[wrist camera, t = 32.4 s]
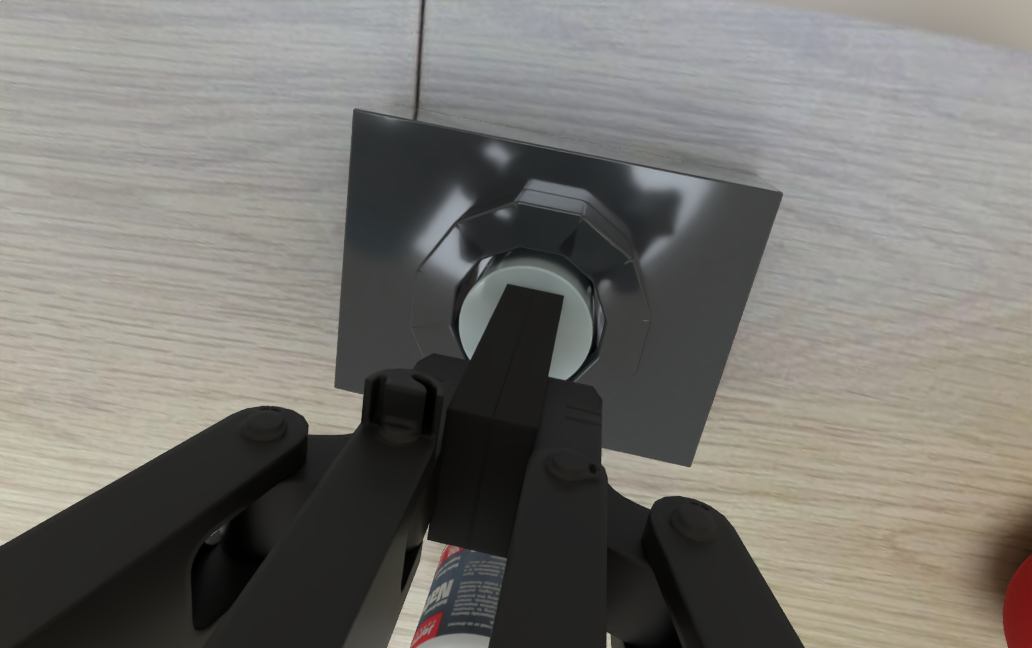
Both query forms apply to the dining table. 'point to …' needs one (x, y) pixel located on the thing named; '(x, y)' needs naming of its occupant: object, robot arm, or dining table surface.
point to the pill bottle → (461, 601)
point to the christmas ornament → (1019, 607)
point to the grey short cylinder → (538, 275)
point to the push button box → (556, 230)
